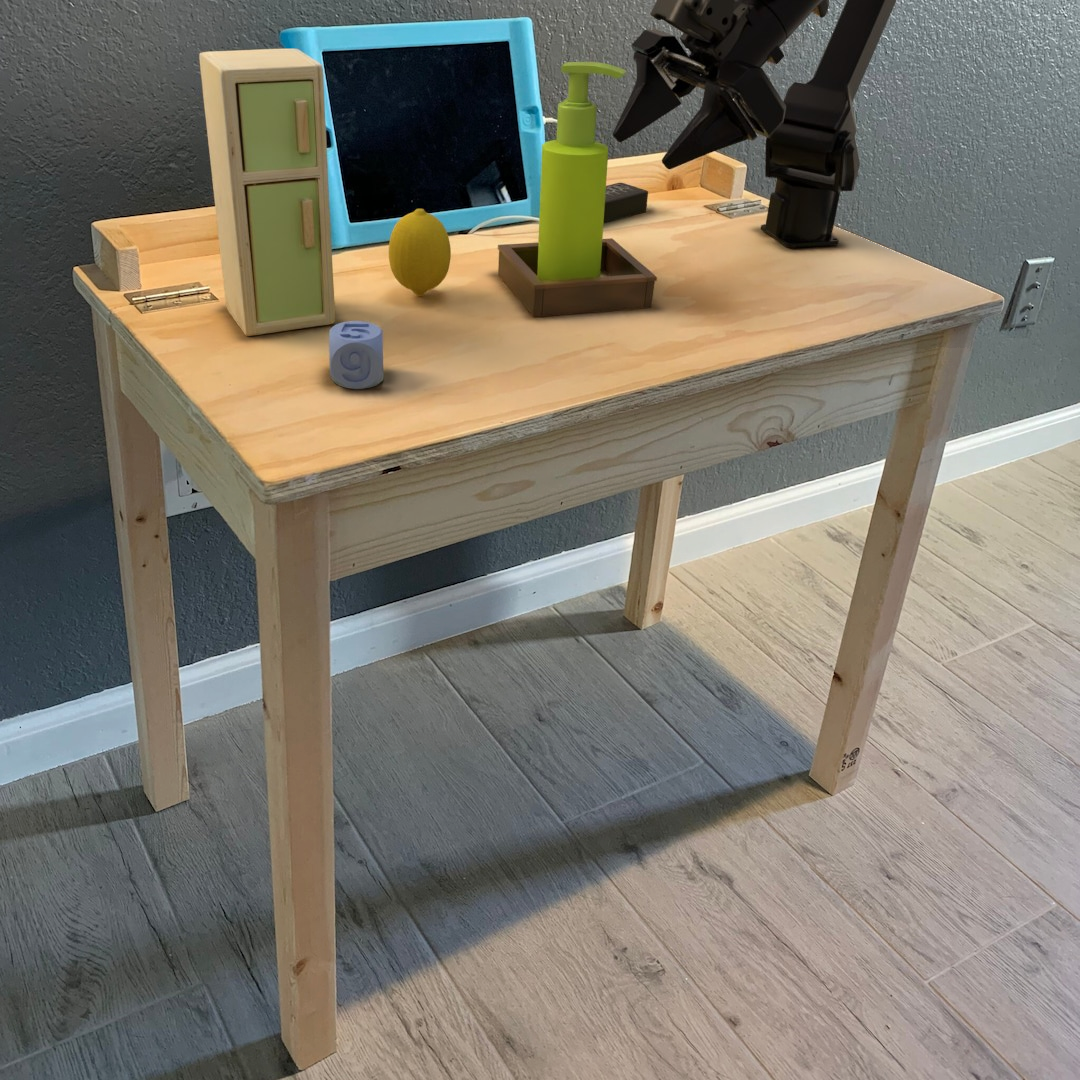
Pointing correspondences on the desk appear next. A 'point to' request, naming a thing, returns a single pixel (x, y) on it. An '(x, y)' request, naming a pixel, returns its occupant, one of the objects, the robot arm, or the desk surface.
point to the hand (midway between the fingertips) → (639, 151)
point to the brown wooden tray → (577, 282)
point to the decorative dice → (356, 354)
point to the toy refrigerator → (270, 186)
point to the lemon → (419, 252)
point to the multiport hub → (624, 201)
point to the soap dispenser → (574, 183)
